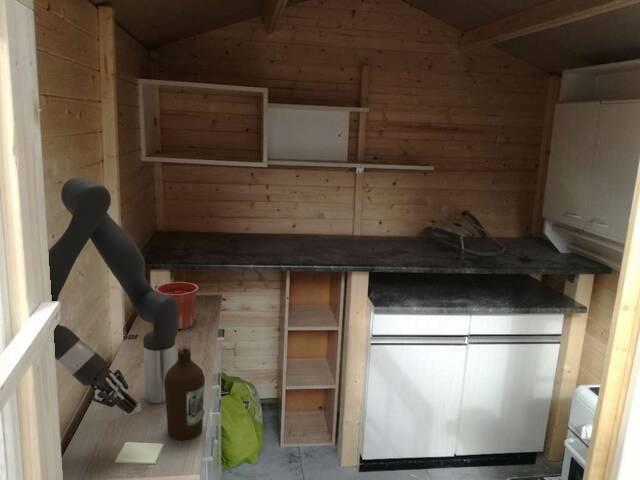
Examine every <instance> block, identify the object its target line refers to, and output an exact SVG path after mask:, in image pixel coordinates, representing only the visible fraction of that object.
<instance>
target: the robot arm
mask: <svg viewBox="0 0 640 480" xmlns="http://www.w3.org/2000/svg"><path fill="white" fill-rule="evenodd" d="M60 194H61V195H60V197H61V201H62V205H63V206H64V207H65V208H66V210H67V211H68V212H69V213H70V214H71V215H72V216H71V219H70V222H69V224H68V226H67V227H66V230H65V231H64V233H63V234H62V235H61V236H60V238H59V239H58V240H57V241H56V242H55V243H54V244H53V245H52V246H51V247H50V248H49V249H48V251H49V266H50V280H51V295H52V301H57V302H58V300H59V297H60V294H61V292H62V290H63V288H64V286H65V284H66V283H67V280H68V277H69V275H70V273H71V271H72V269H73V266H75V263H76V261H77V259H78V257H79V255H80V253H82V251H83V249H84V247H85V246H86V244H87V243H88V241H89V240H91V242H92V244H93V246H94V247H95V249H96V250H97V252H98V254H99V255H100V257H101V258H102V260H103V262H104V263H105V265H106V266H107V267H108V269H109V270H110V272H111V273H112V275H113V276H114V278H115V279H116V280H117V282H118V284H119V285H120V287H121V288H122V290H123V291H124V292H125V293H126V295H127V297H128V299H129V301H130V302H131V304H132V307H133V309H134V311H135V313H136V314H137V316H138V317H139V318H140V319H141V320H142V321H144V322H147V323H150V324H152V325H153V331H150V332H148V333H145V335H144V337H143V340H142V341H143V343H142V344H143V345H142V346H143V373H144V374H143V377H144V381H143V382H144V398H145V401H147V402H148V403H153V404H163V403H166V397H165V385H164V381H165V377H166V374H167V372H168V370H169V369H170V368H171V367H172V366H173V365H174V364H175V363H176V338H177V335H178V331H179V330H178V304H177V301H176V300H175V299H174V298H173V297H171V296H168V295H165V294H161V293H158V292H157V290H156V289H154V288H153V287H152V286H151V285H150V282H148V280H147V279H146V276H145V275H146V274H145V273H146V262H145V258H144V256H143V254H142V252H141V251H140V249H139V248H138V246H137V244H136V243H135V242H134V240H133V239H132V237H130V235H128V233H127V232H126V231H125V230H124V229H123V228H122V227H121V226H120V225H119V224H117V222H116V221H115V220H114V219H113V218H112V217H111V215H110V214H109V213H108V210H109V209H110V206H111V204H112V203H111V202H112V197H111V196H112V195H111V193H110V191H109V190H108V188H107V187H105V186H104V185H103V184H101V183H98V182H96V181H93V180H91V179H88V178H85V177H72V178H70V179H67V181H65V182H64V183H63V186H62V187H61V193H60ZM54 343H55V358H56V359H55V358H54V359H55V360H56V361H57V362H58V363H59V364H60V366H62V367H63V368H64V369H65V371H67V372H68V373H69V374H70V375H71V376H72V377H73V378H75V380H77V382H79V384H81V385H82V386H84V387H86V386H89V387H90V388H91V390H92V391H93V392H94V397H92V400H93V402H95V403H97V404H101V405H103V406H104V405H106V406H109V407H113V406H115V405H118V406H120V407H121V408H122V409H123V410H124V411H125V412H126V413H128V414H130V413H131V412H132V411H133V410H134V409H135V407H136V406H137V404H138V402H137V401H136V400H135V399H134V398H133V397H132V396H131V395H130V394H129V391H128V390H129V388H130V387H129V385H128V383H127V381H126V379H125V378H124V375H123V373H122V372H121V370H120V369H116V370H115V371H112V370H111V369H109V368H107V366H108V362H107V361H106V359H104V358H103V357H102V356H101V355H100V354H99V353H97V352H96V350H95V349H93V348H92V346H90V345H89V344H87V342H85V341H83V340H82V339H80V337H79V336H78V335H76V334H75V333H74V331H72V330H71V329H70V328H68V327H67V326H65V325H60V324H58V325H57V326H56V328H55V330H54ZM110 401H112V402H110ZM124 411H123V412H124ZM130 415H131V414H130Z"/></svg>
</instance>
